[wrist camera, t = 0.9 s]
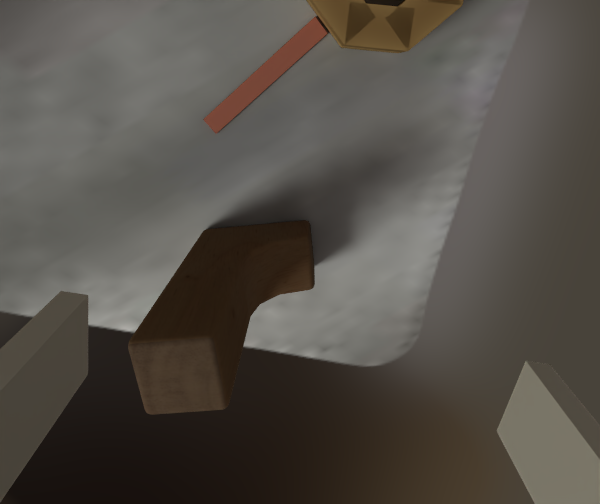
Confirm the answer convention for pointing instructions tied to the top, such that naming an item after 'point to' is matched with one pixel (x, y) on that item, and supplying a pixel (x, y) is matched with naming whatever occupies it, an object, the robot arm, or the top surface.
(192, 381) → the wooden block
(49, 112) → the top surface
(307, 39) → the brown thin rod
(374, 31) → the tan faceted ring
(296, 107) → the top surface
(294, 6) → the top surface
